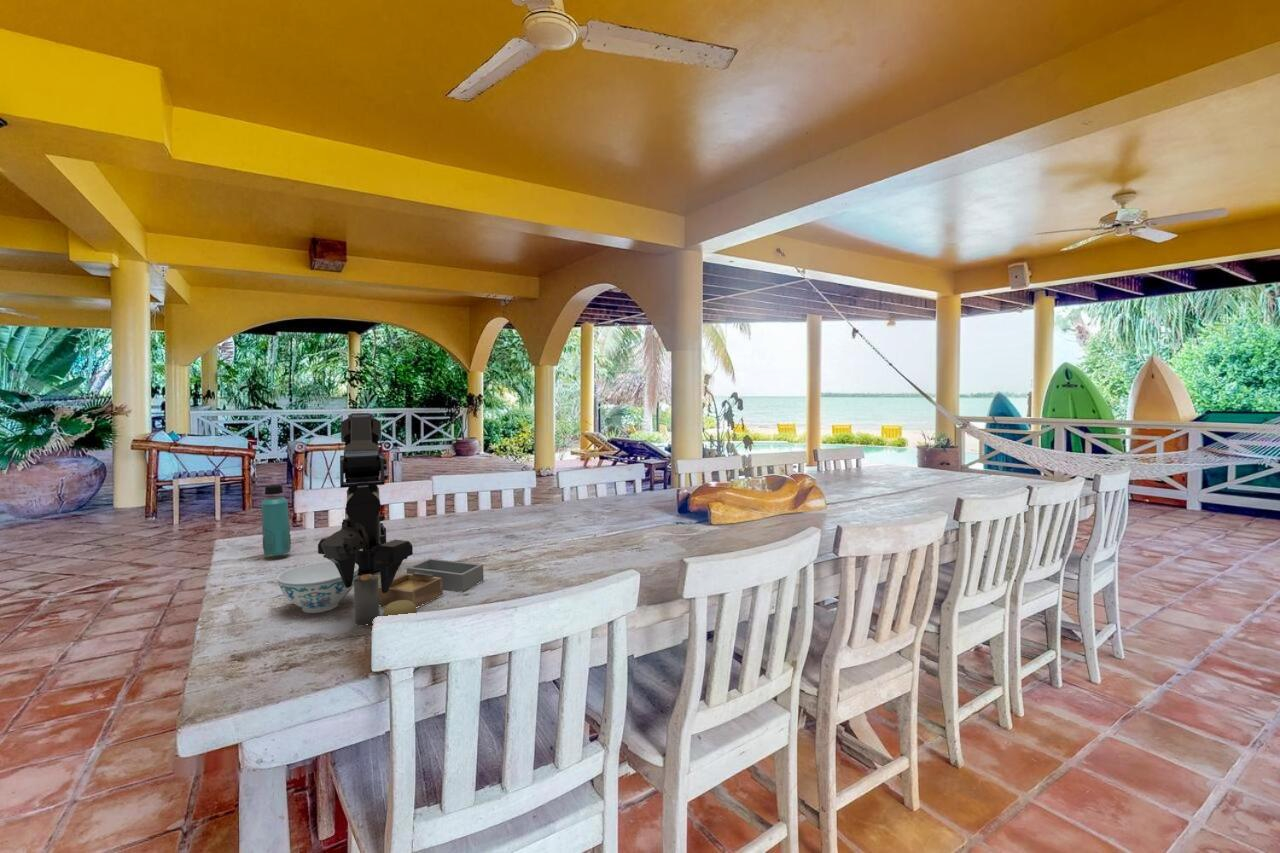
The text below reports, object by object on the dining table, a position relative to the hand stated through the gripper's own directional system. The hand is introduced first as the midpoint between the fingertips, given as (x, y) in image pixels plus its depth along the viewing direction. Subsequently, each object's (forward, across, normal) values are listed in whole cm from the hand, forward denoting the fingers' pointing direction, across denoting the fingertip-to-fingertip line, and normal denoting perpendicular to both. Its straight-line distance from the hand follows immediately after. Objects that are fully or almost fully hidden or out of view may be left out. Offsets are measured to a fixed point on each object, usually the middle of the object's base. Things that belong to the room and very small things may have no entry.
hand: (366, 589), depth 115 cm
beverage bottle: (+7, -57, +26) cm, 63 cm away
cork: (+6, +20, -13) cm, 25 cm away
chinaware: (+7, -15, +3) cm, 17 cm away
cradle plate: (+4, 0, +12) cm, 13 cm away
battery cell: (+6, 0, 0) cm, 6 cm away
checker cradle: (+6, 0, +12) cm, 14 cm away
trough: (+6, 0, +24) cm, 25 cm away
